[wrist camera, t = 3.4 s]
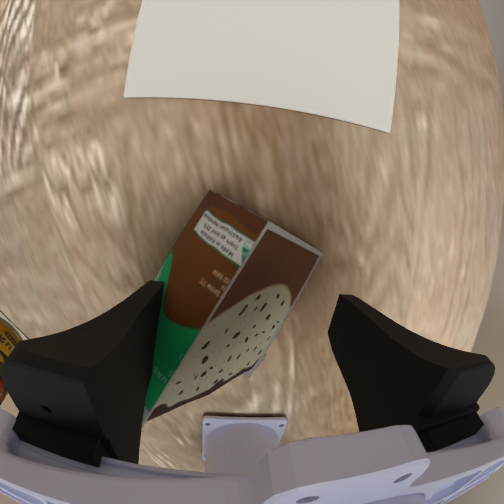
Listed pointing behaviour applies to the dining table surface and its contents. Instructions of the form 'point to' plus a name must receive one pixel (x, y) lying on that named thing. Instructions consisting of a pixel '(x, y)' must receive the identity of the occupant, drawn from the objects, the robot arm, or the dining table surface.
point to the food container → (222, 301)
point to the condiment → (7, 346)
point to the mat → (271, 55)
